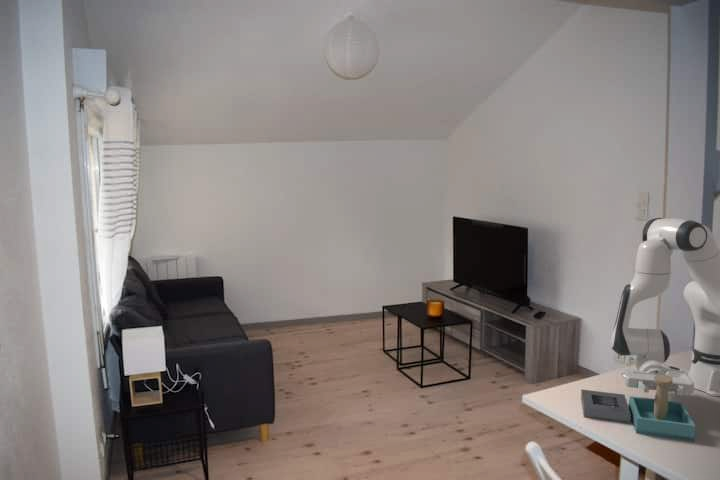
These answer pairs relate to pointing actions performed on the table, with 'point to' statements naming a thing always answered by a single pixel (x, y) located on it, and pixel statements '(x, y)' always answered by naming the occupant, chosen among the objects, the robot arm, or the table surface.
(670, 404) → the bin
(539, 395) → the table surface
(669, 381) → the handle
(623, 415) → the socket block
